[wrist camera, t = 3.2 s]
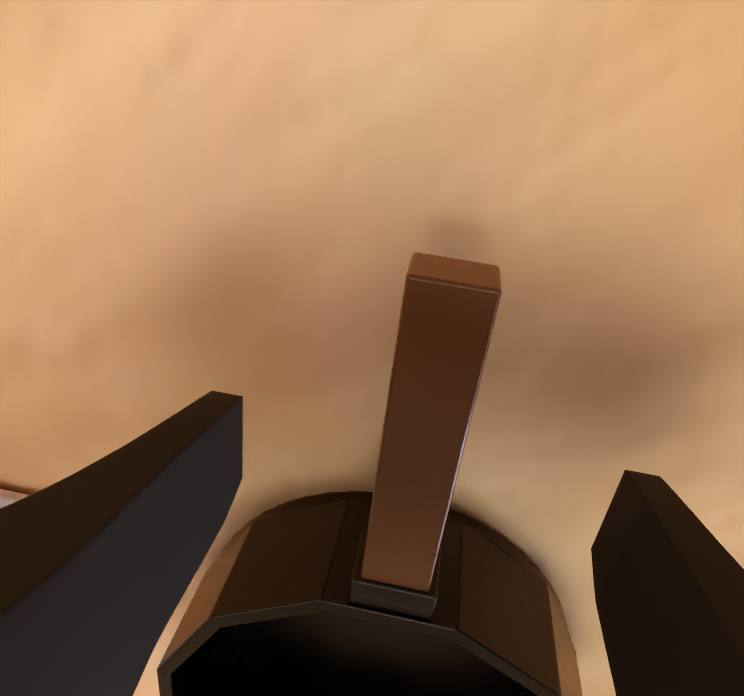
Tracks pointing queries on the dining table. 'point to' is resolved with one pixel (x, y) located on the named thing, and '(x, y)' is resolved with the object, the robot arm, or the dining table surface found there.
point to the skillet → (386, 552)
